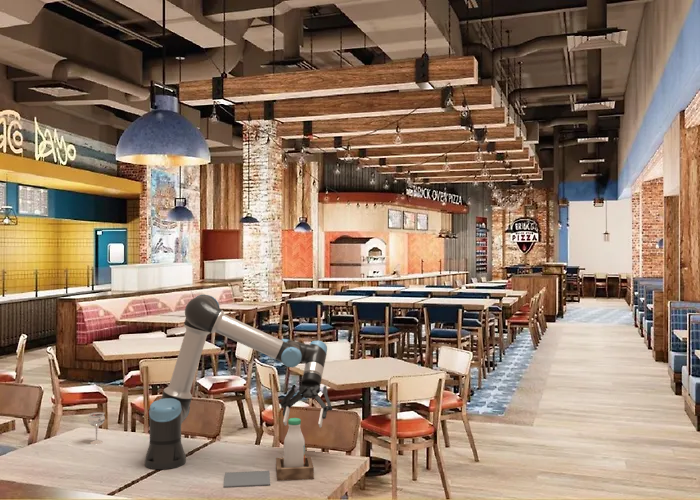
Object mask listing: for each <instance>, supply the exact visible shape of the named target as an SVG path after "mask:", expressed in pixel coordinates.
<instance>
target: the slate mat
mask: <svg viewBox="0 0 700 500" xmlns="http://www.w3.org/2000/svg"><path fill="white" fill-rule="evenodd" d="M267 486H269V487H270V486H271V474H270V470H255V471H254V470H253V471H251V470H250V471H233V472H232V471H229V472H224V479H223V488H224V489H225V488H246V487H247V488H249V487H267Z"/></svg>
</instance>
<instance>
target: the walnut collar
mask: <svg viewBox="0 0 700 500" xmlns="http://www.w3.org/2000/svg"><path fill="white" fill-rule="evenodd" d="M314 469H315V467H314V464H313V460H312V456H309V455H308V456H305V467H290V468H284V457H276V458H275V472H276V481H299V480H302V479H304V480H314V478H315V473H314V471H315V470H314Z"/></svg>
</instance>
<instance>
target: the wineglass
mask: <svg viewBox="0 0 700 500" xmlns="http://www.w3.org/2000/svg"><path fill="white" fill-rule="evenodd" d="M105 415H106V412H104V411H94V412H90V413H88V414H87V416H88V417H87V422H88V424H89V425H91V427H94V428H95V440H94V441H91V442H90V443H89V444H91V445H100V444H102V443H103V442H104V441H102V440H98V428H99V427H100V426H101V425H103V424H104V422H105V420H106V417H105Z"/></svg>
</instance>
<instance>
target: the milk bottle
mask: <svg viewBox="0 0 700 500" xmlns="http://www.w3.org/2000/svg"><path fill="white" fill-rule="evenodd" d="M301 423H302V420H301V419H300V418H298V417H290V418H288V421H287V426H288V430H287V433H286V435H285V437H284V441H283V458H284V468H290V467H305V457H306V444H305V443H306V441H305V436H304V435H303V433H302V429H301Z"/></svg>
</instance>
